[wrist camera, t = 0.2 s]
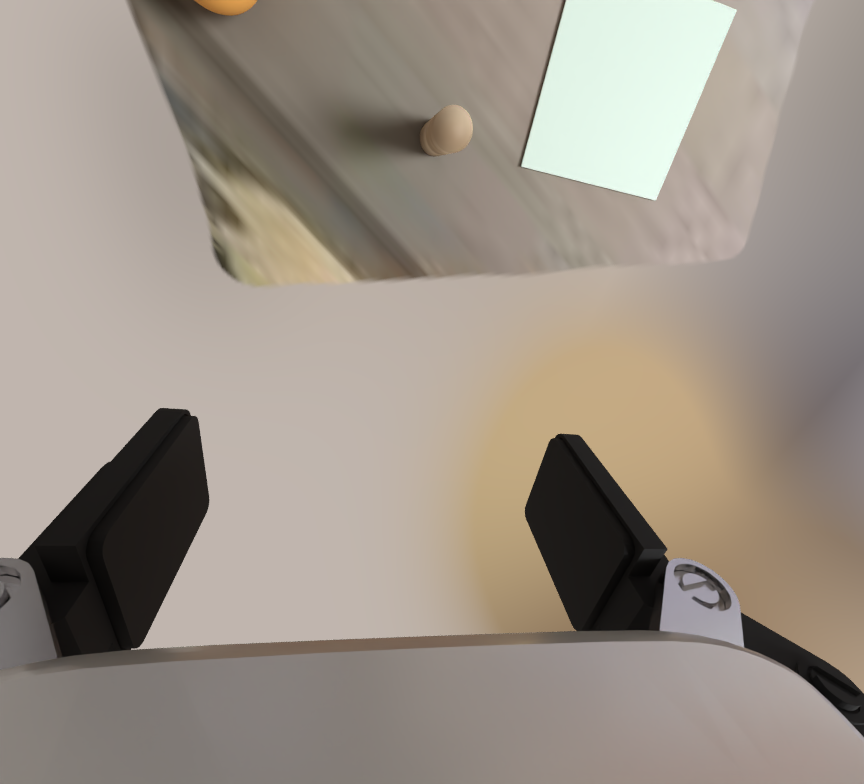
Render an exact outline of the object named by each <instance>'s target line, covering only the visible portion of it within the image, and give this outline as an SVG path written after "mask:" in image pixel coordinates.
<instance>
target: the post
mask: <svg viewBox="0 0 864 784" xmlns="http://www.w3.org/2000/svg"><path fill="white" fill-rule="evenodd" d="M472 132H473V125H472V120H471V117H470V115H469V114H468V112H467V111H466V110H465V109H464V108H462V107H461V106H458V105H449V106H446V107H444V108H443V109H442V110H441V111H439V112H438V113H437V114H436V115H435V116H434V117H433V118H431V119H430V120H429V121H428V122H427V123H426V124H425V125H424V126H423V127H422V129H421V132H420V144H421V147H422V149H423V150H424V151H425V152H426V153H427V154H428V155H430V156H440V155H446V154H451V153H456V152H459V151H461V150H463V149H464V148H465V147H466V146H467V145H468V143H469V142H470V140H471V137H472Z"/></svg>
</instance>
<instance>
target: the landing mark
mask: <svg viewBox="0 0 864 784" xmlns="http://www.w3.org/2000/svg"><path fill="white" fill-rule="evenodd" d="M736 11H737V10H736V9H733V8H731V7H728V6H725V5H723V4H720V3H718V2H715V1H713V0H566V1H565V4H564V8H563V12H562V15H561V19H560V23H559V27H558V30H557V34H556V38H555V41H554V45H553V49H552V52H551V56H550V60H549V64H548V67H547V71H546V75H545V78H544V82H543V86H542V89H541V93H540V97H539V100H538V104H537V108H536V112H535V115H534V119H533V123H532V126H531V130H530V134H529V137H528V141H527V145H526V149H525V152H524V156H523V160H522V163H521V167H524V168H528V169H532V170H536V171H540V172H544V173H548V174H552V175H556V176H560V177H564V178H568V179H572V180H576V181H580V182H584V183H588V184H592V185H596V186H600V187H604V188H607V189H611V190H615V191H619V192H623V193H627V194H631V195H635V196H639V197H643V198H647V199H651V200H655V201H656V199H657V196H658V194H659V192H660V189H661V187H662V185H663V182H664V180H665V178H666V175H667V173H668V171H669V168H670V166H671V163H672V161H673V159H674V156H675V154H676V152H677V149H678V147H679V145H680V142H681V140H682V138H683V135H684V133H685V131H686V128H687V126H688V124H689V121H690V119H691V116H692V114H693V112H694V109H695V107H696V105H697V102H698V100H699V98H700V95H701V93H702V91H703V88H704V86H705V84H706V81H707V79H708V77H709V74H710V72H711V69H712V67H713V65H714V62H715V60H716V58H717V55H718V53H719V51H720V48H721V46H722V44H723V41H724V39H725V37H726V34H727V32H728V30H729V27H730V25H731V23H732V20H733V18H734V15H735V13H736Z"/></svg>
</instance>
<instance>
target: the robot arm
mask: <svg viewBox="0 0 864 784" xmlns="http://www.w3.org/2000/svg"><path fill="white" fill-rule="evenodd" d="M208 506H209V493H208V486H207V479H206V471H205V465H204V457H203V451H202V443H201V436H200V429H199V422H198V419H197V417H196V416H191V415H190V412H189V411H188V410H183V409H168V408H160V409H158V410H157V411H156V412H155V413H154V414H153V415H152V417H151V418H150V419H149V420H148V421H147V422H146V423H145V424H144V425H143V426H142V428H141V429H140V430H139V431H138V432H137V433H136V434H135V436H133V438H132V439H131V440H130V441H129V442H128V443H127V444H126V445H125V447H123V449H122V450H121V451H120V452H119V453H118V454H117V455H116V456H115V457H114V459H113V460H112V461H111V462H108V463H107V464H105V465H104V466H103V467H102V468H101V469H100V470H99V471H98V472H97V473H96V474H95V475H94V477H93V478H92V479H91V480H90V481H89V482H88V483H87V484H86V485H85V486H84V488H83V489H82V490H81V491H80V492H79V493H78V494H77V495H76V496H75V497H74V498H73V500H72V501H71V502H70V503H69V504H68V505H67V506H66V507H65V508H64V510H62V511H61V513H60V514H59V515H58V516H57V517H56V518H55V519H54V520H53V521H52V522H51V524H50V525H49V526H48V527H47V528H46V529H45V530H44V531H43V532H42V533H41V535H39V537H38V538H37V539H36V540H35V541H34V542H33V543H32V544H31V545H30V547H29V548H28V549H27V550H26V551H25V552H24V553H23V554H22V555H21V556H20V557H19V558H18V559H13V558H0V784H864V694H863V693H862V691H861V690H860V689H859V688H858V687H857V686H856V685H855V684H854V683H853V682H852V681H851V680H850V679H849V678H848V677H846V676H845V675H844V674H843V673H841V672H840V671H839V670H838V669H836V668H835V667H833V666H831V665H830V664H829V663H827V662H826V661H824V660H822V659H820V658H819V657H817V656H815V655H813V654H812V653H810V652H808V651H807V650H805V649H803V648H801V647H800V646H798V645H796V644H795V643H793V642H791V641H789V640H787V639H786V638H784V637H782V636H781V635H779V634H777V633H775V632H774V631H772V630H770V629H769V628H767V627H765V626H763V625H762V624H760V623H758V622H756V621H755V620H753V619H751V618H750V617H748V616H746V615H744V614H743V613H741V612H740V604H739V601H738V598H737V596H736V594H735V593H734V591H733V590H732V588H731V587H730V586H729V585H728V584H727V583H726V582H725V581H724V579H723V578H721V577H720V576H719V575H718V574H716V573H715V572H714V571H713V570H711V569H709V568H708V567H706V566H704V565H703V564H700V563H698V562H695V561H693V560H690V559H684V558H675V559H673V560H671V561H668V560H667V558H666V557H665V555H664V553H665V552H666V551H667V548H666V546H665V545H664V544H663V542H662V541H661V540H660V539H659V537H658V536H657V535H656V533H655V532H654V531H653V529H652V528H651V527H650V526H649V524H648V523H647V522H646V521H645V519H644V518H643V517H642V515H641V514H640V513H639V511H638V510H637V509H636V507H635V506H634V505H633V504H632V502H631V501H630V500H629V498H628V497H627V496H626V494H624V492H623V491H622V489H621V488H620V487H619V486H618V484H617V483H616V482H615V480H614V479H613V478H612V476H611V475H610V474H609V472H608V471H607V470H606V469H605V467H604V466H603V465H602V463H601V462H600V461H599V460H598V458H597V457H596V456H595V454H594V453H593V452H592V450H591V449H590V448H589V447H588V445H587V444H586V443H585V441H584V440H583V439H582V438H581V437H580V436H579V435H571V434H558V435H557V436H556V437H555V438H553V439H551V440H550V442H549V444H548V447H547V450H546V452H545V455H544V457H543V460H542V463H541V466H540V468H539V471H538V474H537V476H536V479H535V482H534V485H533V487H532V490H531V493H530V496H529V498H528V501H527V504H526V507H525V517H526V520H527V522H528V524H529V527H530V529H531V531H532V534H533V536H534V538H535V540H536V543H537V545H538V548H539V550H540V552H541V554H542V557H543V559H544V561H545V563H546V566H547V568H548V571H549V573H550V575H551V578H552V580H553V582H554V585H555V587H556V589H557V591H558V594H559V596H560V598H561V601H562V603H563V605H564V607H565V610H566V612H567V614H568V617H569V619H570V621H571V624H572V626H573V628H574V629H575V630H576V631H568V632H537V633H505V634H475V635H448V636H422V637H396V638H395V637H394V638H369V639H346V640H345V639H344V640H320V641H298V642H274V643H252V644H251V643H250V644H229V645H228V644H227V645H208V646H190V647H173V648H157V649H142V650H141V649H140V650H131V648H138V647H140V645H141V644H142V643H143V641H144V639H145V637H146V635H147V633H148V631H149V629H150V627H151V625H152V623H153V621H154V619H155V617H156V615H157V613H158V611H159V609H160V606H161V605H162V603H163V600H164V598H165V596H166V594H167V592H168V590H169V588H170V586H171V584H172V582H173V580H174V578H175V576H176V574H177V572H178V570H179V568H180V566H181V564H182V562H183V560H184V558H185V556H186V554H187V551H188V549H189V547H190V545H191V543H192V541H193V539H194V537H195V535H196V533H197V531H198V529H199V527H200V525H201V523H202V521H203V519H204V517H205V514H206V513H207V510H208Z"/></svg>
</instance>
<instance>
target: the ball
mask: <svg viewBox="0 0 864 784" xmlns="http://www.w3.org/2000/svg"><path fill="white" fill-rule="evenodd" d="M194 1H196V2H197V3H198V4H200V5H201V6H203V7H204V8H206V9H208V10H210V11H212V12H215V13H217V14H222V15H231V16H232V15H238V14H241V13H244V12H246V11H247V10H249V9H250V8H251V7H252V6H253V5H254V4H255V3H256V1H257V0H194Z"/></svg>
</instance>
